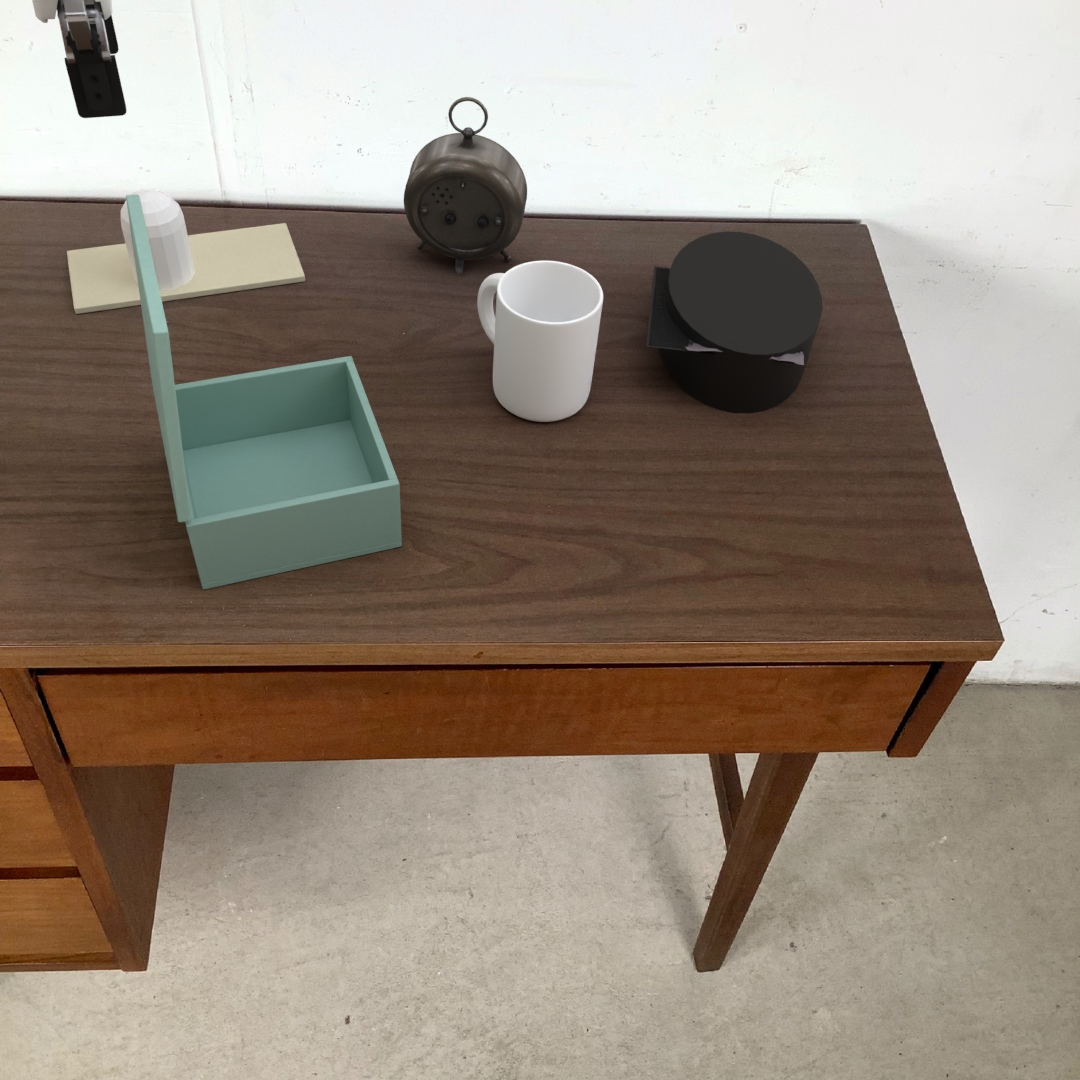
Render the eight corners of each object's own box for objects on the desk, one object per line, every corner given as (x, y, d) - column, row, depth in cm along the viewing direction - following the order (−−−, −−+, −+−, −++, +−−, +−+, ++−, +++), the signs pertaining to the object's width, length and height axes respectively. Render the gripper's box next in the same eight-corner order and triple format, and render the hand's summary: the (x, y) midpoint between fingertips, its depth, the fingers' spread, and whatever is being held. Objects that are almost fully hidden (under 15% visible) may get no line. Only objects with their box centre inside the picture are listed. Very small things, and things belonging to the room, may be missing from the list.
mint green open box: (356, 419, 86) (351, 355, 81) (402, 546, 78) (399, 483, 73) (175, 452, 82) (158, 387, 77) (202, 590, 74) (186, 526, 69)
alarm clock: (523, 252, 104) (535, 90, 91) (517, 285, 100) (528, 120, 88) (411, 239, 104) (408, 75, 91) (401, 271, 100) (396, 105, 88)
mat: (75, 314, 92) (73, 308, 92) (68, 256, 98) (66, 250, 97) (305, 281, 98) (305, 275, 98) (286, 228, 103) (285, 222, 103)
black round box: (800, 308, 103) (818, 238, 97) (809, 423, 90) (831, 349, 84) (649, 292, 103) (659, 221, 98) (638, 403, 91) (648, 329, 85)
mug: (443, 365, 92) (443, 262, 84) (513, 328, 96) (520, 227, 88) (539, 440, 86) (548, 338, 79) (609, 397, 90) (625, 296, 83)
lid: (139, 193, 66) (125, 194, 66) (168, 331, 58) (153, 332, 58) (163, 381, 77) (151, 382, 77) (191, 521, 69) (178, 523, 68)
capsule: (197, 255, 98) (182, 176, 92) (192, 290, 95) (175, 210, 89) (137, 256, 98) (117, 176, 92) (130, 291, 94) (109, 210, 88)
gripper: (-28, -233, 69) (43, 34, 82) (-36, -147, 59) (47, 146, 71) (94, -232, 71) (145, 29, 84) (107, -148, 61) (163, 137, 73)
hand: (100, 82), depth 78 cm, fingers open, 9 cm apart
